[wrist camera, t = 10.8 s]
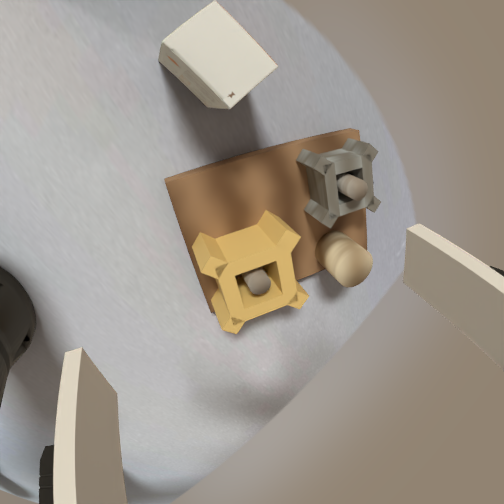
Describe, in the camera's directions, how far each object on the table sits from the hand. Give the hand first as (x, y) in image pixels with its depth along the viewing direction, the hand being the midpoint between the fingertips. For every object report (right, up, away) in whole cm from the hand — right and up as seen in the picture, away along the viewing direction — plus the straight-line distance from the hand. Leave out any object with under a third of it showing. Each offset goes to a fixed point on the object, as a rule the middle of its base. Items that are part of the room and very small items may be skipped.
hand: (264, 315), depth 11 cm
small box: (-6, +22, +18) cm, 29 cm away
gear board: (+3, +7, +29) cm, 30 cm away
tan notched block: (-1, +1, +28) cm, 28 cm away
